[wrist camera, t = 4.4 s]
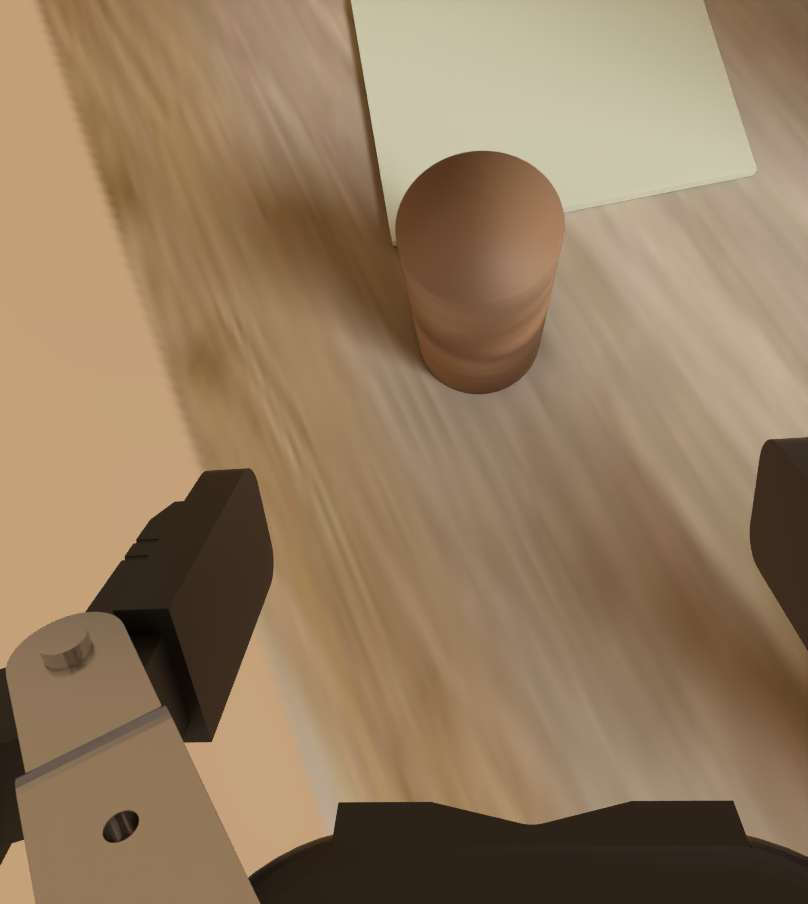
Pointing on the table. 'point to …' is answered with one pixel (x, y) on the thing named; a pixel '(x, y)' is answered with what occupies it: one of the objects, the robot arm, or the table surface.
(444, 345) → the walnut cylinder
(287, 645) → the table surface
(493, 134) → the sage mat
